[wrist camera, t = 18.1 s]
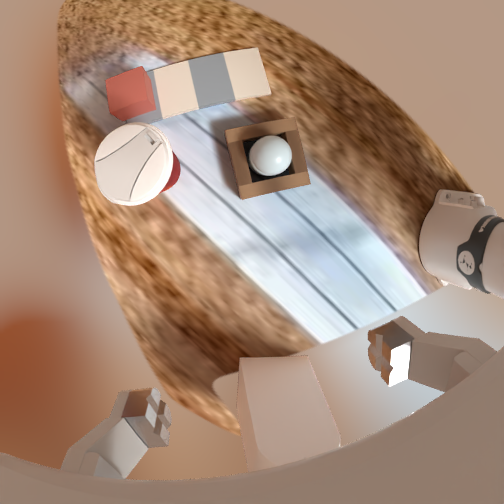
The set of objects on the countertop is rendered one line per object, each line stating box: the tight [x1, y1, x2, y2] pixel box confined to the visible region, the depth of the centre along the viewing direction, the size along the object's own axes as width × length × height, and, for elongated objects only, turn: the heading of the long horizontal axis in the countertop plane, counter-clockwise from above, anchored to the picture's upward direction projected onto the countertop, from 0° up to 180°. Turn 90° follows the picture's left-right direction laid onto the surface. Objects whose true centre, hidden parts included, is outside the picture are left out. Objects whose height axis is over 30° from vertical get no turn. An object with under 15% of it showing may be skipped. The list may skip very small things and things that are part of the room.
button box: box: [225, 117, 311, 200], centre depth 34 cm, size 9×9×3 cm
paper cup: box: [94, 122, 180, 206], centre depth 27 cm, size 8×8×14 cm
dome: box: [248, 136, 292, 176], centre depth 32 cm, size 5×5×6 cm
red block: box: [105, 66, 156, 121], centre depth 28 cm, size 5×5×5 cm
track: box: [127, 48, 271, 124], centre depth 31 cm, size 20×8×1 cm, turn 103°
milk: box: [237, 356, 341, 472], centre depth 32 cm, size 12×12×26 cm
